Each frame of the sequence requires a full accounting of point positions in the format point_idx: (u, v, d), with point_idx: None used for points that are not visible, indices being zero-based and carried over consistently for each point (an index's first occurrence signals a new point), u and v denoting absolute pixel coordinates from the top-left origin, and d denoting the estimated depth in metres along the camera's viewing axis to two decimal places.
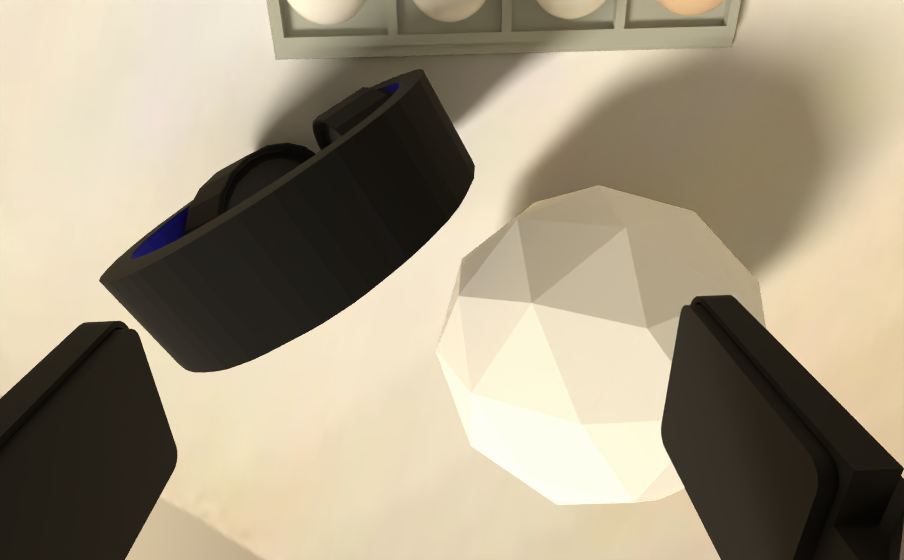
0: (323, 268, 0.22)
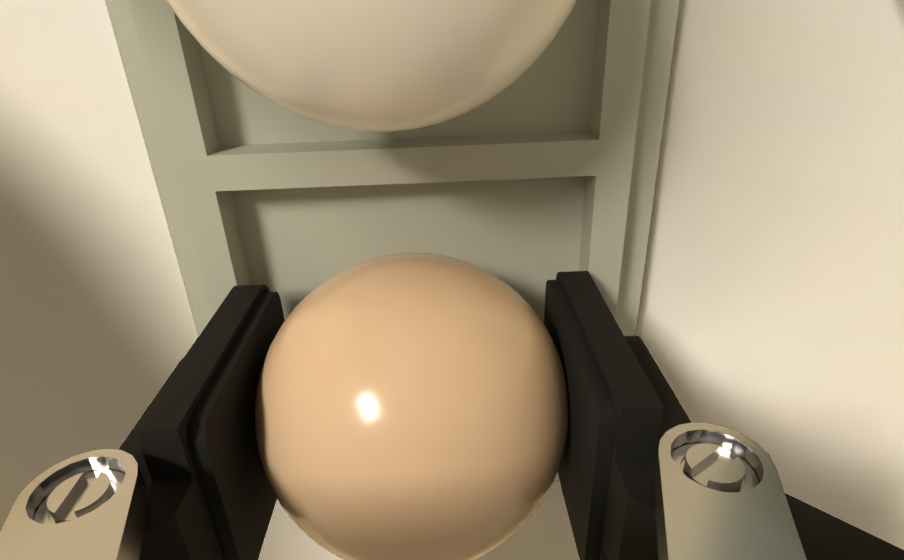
0: None
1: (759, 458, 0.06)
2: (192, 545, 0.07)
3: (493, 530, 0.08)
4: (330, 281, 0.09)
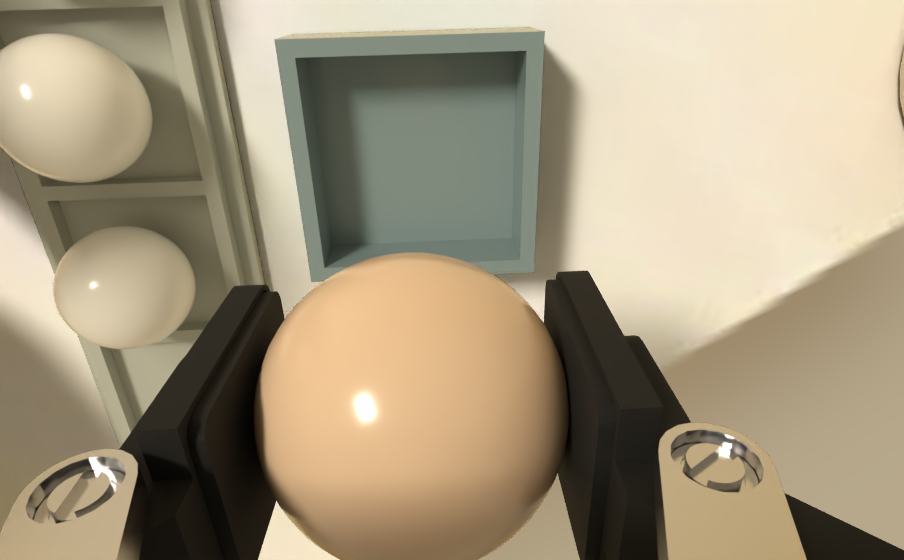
0: None
1: (760, 458, 0.06)
2: (192, 545, 0.07)
3: (492, 532, 0.08)
4: (329, 281, 0.09)
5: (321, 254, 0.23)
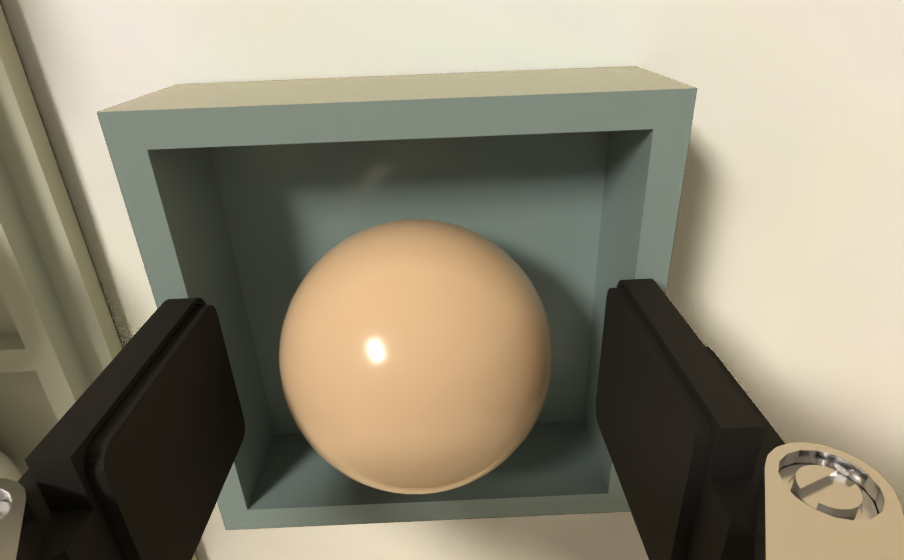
0: None
1: (882, 489, 0.06)
2: None
3: (485, 450, 0.09)
4: (344, 241, 0.10)
5: (240, 489, 0.12)
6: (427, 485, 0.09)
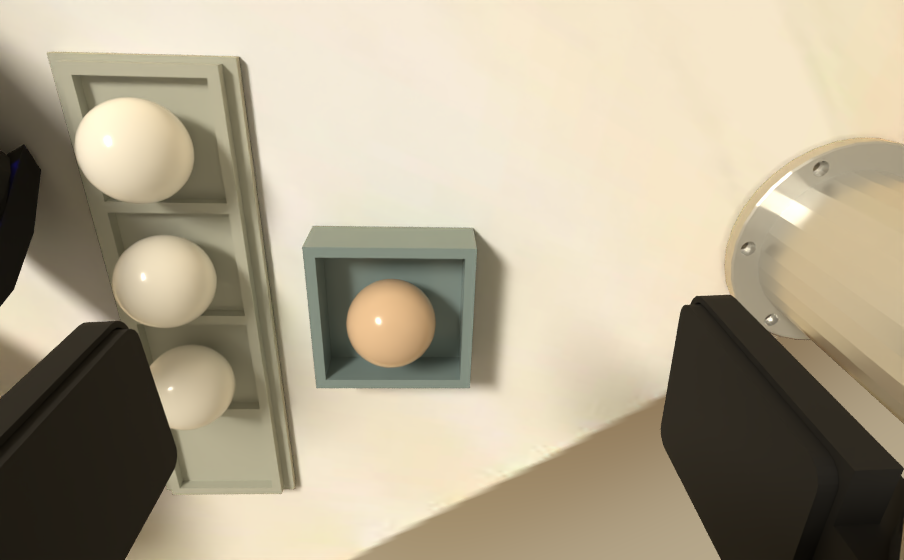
0: None
1: None
2: None
3: (408, 351, 0.30)
4: (370, 286, 0.31)
5: (324, 371, 0.33)
6: (391, 361, 0.30)
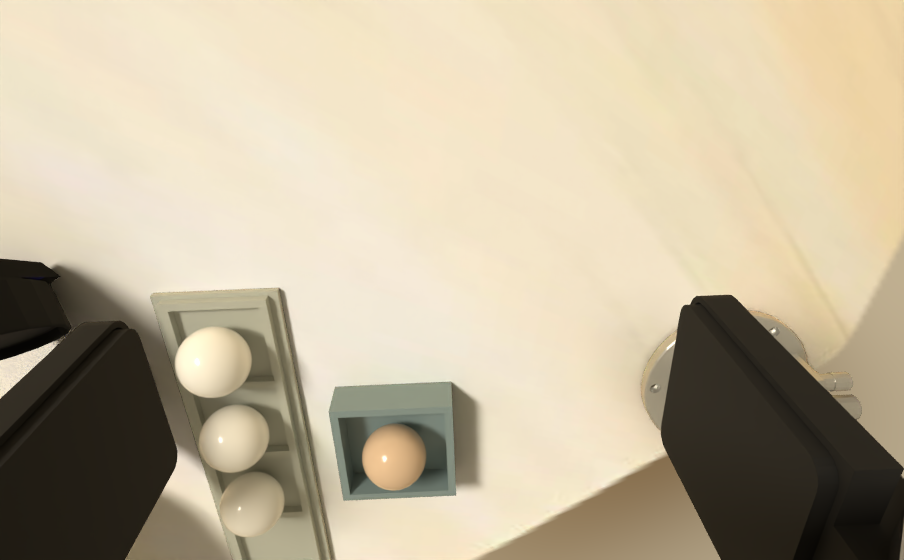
0: None
1: None
2: None
3: (406, 481, 0.42)
4: (377, 432, 0.43)
5: (348, 489, 0.46)
6: (394, 488, 0.43)
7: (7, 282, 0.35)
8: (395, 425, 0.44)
